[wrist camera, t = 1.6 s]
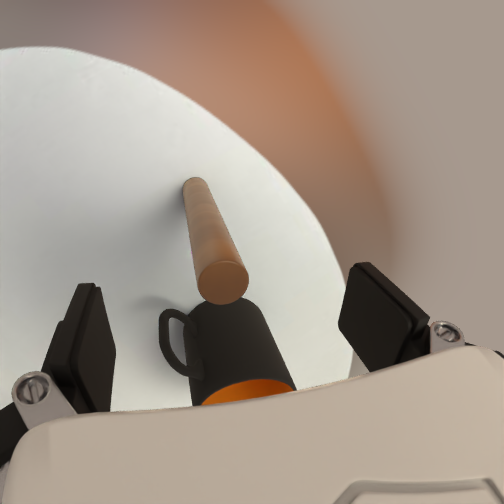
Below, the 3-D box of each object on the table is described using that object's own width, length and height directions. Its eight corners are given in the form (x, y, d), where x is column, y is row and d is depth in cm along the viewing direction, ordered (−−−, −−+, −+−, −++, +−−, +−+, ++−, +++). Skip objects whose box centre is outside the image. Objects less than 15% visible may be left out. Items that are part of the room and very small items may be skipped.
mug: (187, 257, 27) (200, 338, 18) (280, 319, 32) (318, 395, 23) (135, 319, 28) (130, 407, 19) (228, 368, 34) (249, 445, 25)
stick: (182, 177, 23) (196, 262, 11) (207, 176, 24) (250, 259, 12) (182, 202, 24) (198, 307, 12) (207, 201, 25) (248, 302, 13)
